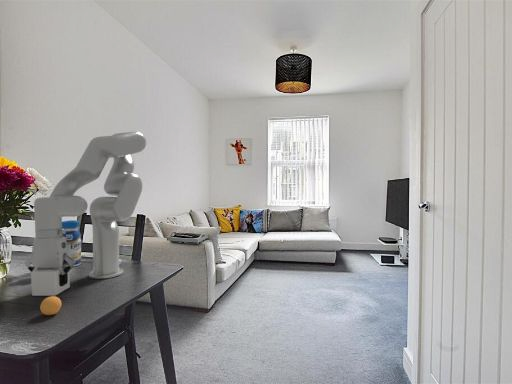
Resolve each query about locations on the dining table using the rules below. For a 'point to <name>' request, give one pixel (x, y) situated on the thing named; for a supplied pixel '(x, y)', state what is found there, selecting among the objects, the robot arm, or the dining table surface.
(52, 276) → the white cube
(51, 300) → the ball
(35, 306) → the dining table surface
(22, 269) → the dining table surface
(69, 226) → the beverage bottle
